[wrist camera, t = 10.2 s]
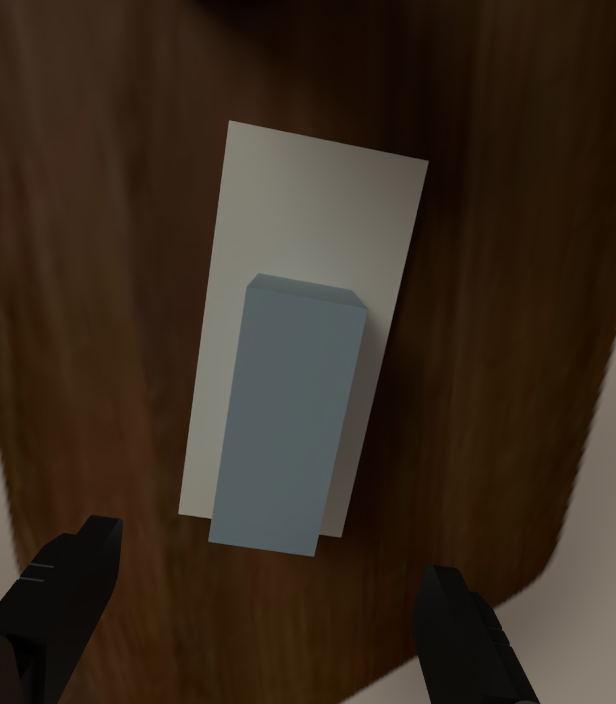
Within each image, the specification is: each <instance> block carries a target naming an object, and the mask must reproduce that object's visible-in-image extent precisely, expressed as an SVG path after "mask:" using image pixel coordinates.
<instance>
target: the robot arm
mask: <svg viewBox="0 0 616 704" xmlns="http://www.w3.org/2000/svg"><path fill="white" fill-rule="evenodd" d="M122 529H123V522H122V519H117V518H110V517H103V516H96V515H91V516H90V517H89V518H88V519H87V521H86V522H85V524H84V525H83V526H82V528H81V529H80V531H79V532H78V533H77V535H74V534H67V533H63V534H61V535H60V536H58V537H57V538H55V539H53V540H52V541H50V542H49V543H47V544H46V545H44V546H43V547H42V549H41V550H40V551H39V553H38V554H37V555H36V556H35V558H34V559H33V560H32V561H31V564H30V566H27V568H26V569H25V570H24V572H23V573H22V574H21V575H20V578H19V580H16V582H15V583H14V584H13V585H12V587H11V588H10V589H9V591H8V592H7V593H6V594H5V596H4V597H3V598H2V599H1V601H0V704H57V703H58V701H59V699H60V697H61V695H62V693H63V691H64V689H65V687H66V685H67V683H68V681H69V679H70V677H71V675H72V673H73V671H74V669H75V667H76V665H77V663H78V661H79V659H80V657H81V655H82V653H83V651H84V649H85V647H86V645H87V643H88V641H89V639H90V637H91V635H92V633H93V631H94V629H95V627H96V625H97V623H98V621H99V619H100V617H101V615H102V613H103V611H104V609H105V607H106V605H107V603H108V601H109V599H110V597H111V595H112V593H113V590H114V587H115V584H116V580H117V576H118V571H119V561H120V551H121V540H122ZM412 635H413V640H414V643H415V647H416V650H417V654H418V658H419V661H420V665H421V668H422V672H423V676H424V679H425V683H426V686H427V690H428V694H429V697H430V701H431V704H540V702H539V700H538V698H537V697H536V694H535V692H534V690H533V688H532V686H531V684H530V682H529V680H528V678H527V676H526V674H525V672H524V670H523V668H522V666H521V664H520V662H519V660H518V658H517V657H516V655H515V653H514V651H513V649H512V647H510V643H509V640H508V638H507V637H506V635H505V633H504V631H502V627H501V625H500V623H499V621H498V619H497V617H496V615H495V613H494V611H493V609H492V608H491V607H490V606H489V605H488V604H487V602H486V601H485V600H484V599H483V598H482V597H481V596H480V595H479V594H478V593H477V592H471V591H469V590H468V588H467V586H466V583H465V581H464V579H463V577H462V575H461V573H460V571H459V570H458V569H457V568H450V567H443V566H437V565H428V566H427V567H426V569H425V572H424V575H423V579H422V582H421V585H420V589H419V592H418V596H417V599H416V602H415V606H414V609H413V614H412Z"/></svg>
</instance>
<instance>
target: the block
mask: <svg viewBox="0 0 616 704" xmlns="http://www.w3.org/2000/svg"><path fill="white" fill-rule="evenodd" d="M367 312H368V308H367V307H366V306H365V305H364V304H363V302H362V301H361V300H360V299H359V298H358V297H357V295H356V294H355V293H354V292H353V291H352V290H349V289H344V288H338V287H333V286H327V285H322V284H316V283H311V282H305V281H300V280H294V279H289V278H283V277H278V276H272V275H267V274H261V273H258V274H257V276H256V277H255V278H254V279H253V280H252V281H251V282H250V284H249V285H248V286H247V287H246V294H245V301H244V307H243V314H242V321H241V327H240V334H239V341H238V347H237V354H236V361H235V367H234V374H233V381H232V387H231V394H230V401H229V407H228V414H227V421H226V427H225V434H224V441H223V447H222V454H221V461H220V467H219V474H218V481H217V487H216V494H215V501H214V507H213V514H212V521H211V527H210V534H209V541H208V542H215V543H222V544H229V545H236V546H243V547H250V548H257V549H264V550H271V551H278V552H285V553H292V554H299V555H306V556H313V557H314V555H315V550H316V545H317V541H318V536H319V532H320V527H321V523H322V518H323V513H324V509H325V504H326V500H327V495H328V490H329V486H330V481H331V477H332V472H333V468H334V463H335V458H336V454H337V449H338V445H339V440H340V435H341V431H342V426H343V422H344V417H345V413H346V408H347V403H348V399H349V394H350V390H351V385H352V380H353V376H354V371H355V367H356V362H357V358H358V353H359V348H360V344H361V339H362V335H363V330H364V325H365V321H366V316H367Z"/></svg>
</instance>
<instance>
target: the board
mask: <svg viewBox="0 0 616 704" xmlns="http://www.w3.org/2000/svg"><path fill="white" fill-rule="evenodd" d="M428 162H429V161H426V160H421V159H416V158H411V157H406V156H401V155H396V154H391V153H386V152H382V151H377V150H372V149H367V148H362V147H357V146H352V145H347V144H342V143H337V142H332V141H328V140H323V139H318V138H313V137H308V136H303V135H298V134H293V133H288V132H283V131H278V130H273V129H269V128H264V127H259V126H254V125H249V124H244V123H239V122H234V121H229V126H228V134H227V142H226V149H225V157H224V165H223V173H222V180H221V188H220V196H219V204H218V211H217V219H216V227H215V235H214V242H213V250H212V258H211V266H210V273H209V281H208V289H207V297H206V304H205V312H204V320H203V327H202V335H201V343H200V351H199V358H198V366H197V374H196V382H195V389H194V397H193V405H192V413H191V420H190V428H189V436H188V444H187V451H186V459H185V467H184V474H183V482H182V490H181V498H180V505H179V513H178V514H184V515H191V516H198V517H204V518H211V519H212V514H213V507H214V501H215V494H216V487H217V481H218V474H219V467H220V461H221V454H222V447H223V441H224V434H225V427H226V421H227V414H228V407H229V401H230V394H231V387H232V381H233V374H234V367H235V361H236V354H237V347H238V341H239V334H240V327H241V321H242V314H243V307H244V301H245V294H246V287H247V286H248V285H249V284H250V282H251V281H252V280H253V279H254V278H255V277H256V276H257V274H258V273H261V274H267V275H272V276H278V277H283V278H289V279H294V280H300V281H305V282H311V283H316V284H322V285H327V286H333V287H338V288H344V289H349V290H352V291H353V292H354V293H355V294H356V295H357V297H358V298H359V299H360V300H361V301H362V302H363V304H364V305H365V306H366V307H367V308H368V312H367V316H366V321H365V325H364V330H363V335H362V339H361V344H360V348H359V353H358V358H357V362H356V367H355V371H354V376H353V380H352V385H351V390H350V394H349V399H348V403H347V408H346V413H345V417H344V422H343V426H342V431H341V435H340V440H339V445H338V449H337V454H336V458H335V463H334V468H333V472H332V477H331V481H330V486H329V490H328V495H327V500H326V504H325V509H324V513H323V518H322V523H321V527H320V532H319V534H321V535H327V536H334V537H341V536H342V532H343V527H344V523H345V519H346V515H347V510H348V506H349V502H350V497H351V493H352V489H353V485H354V480H355V476H356V472H357V467H358V463H359V459H360V454H361V450H362V446H363V442H364V437H365V433H366V429H367V424H368V420H369V416H370V411H371V407H372V403H373V399H374V394H375V390H376V386H377V381H378V377H379V373H380V368H381V364H382V360H383V356H384V351H385V347H386V343H387V338H388V334H389V330H390V326H391V321H392V317H393V313H394V308H395V304H396V300H397V295H398V291H399V287H400V283H401V278H402V274H403V270H404V265H405V261H406V257H407V252H408V248H409V244H410V240H411V235H412V231H413V227H414V222H415V218H416V214H417V209H418V205H419V201H420V197H421V192H422V188H423V184H424V179H425V175H426V171H427V167H428Z"/></svg>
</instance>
